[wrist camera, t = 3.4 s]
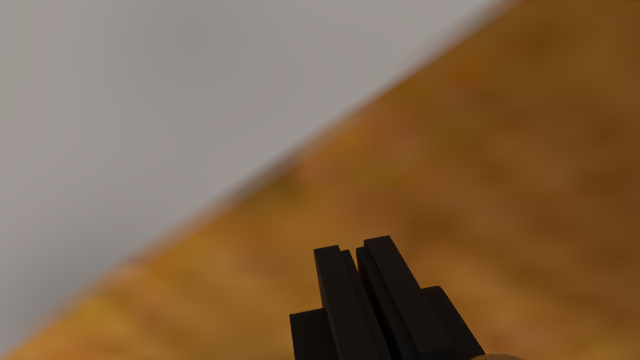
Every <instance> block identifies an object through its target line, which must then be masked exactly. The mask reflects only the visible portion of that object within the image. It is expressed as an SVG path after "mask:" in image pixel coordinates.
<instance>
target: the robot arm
mask: <svg viewBox="0 0 640 360" xmlns="http://www.w3.org/2000/svg"><path fill="white" fill-rule="evenodd" d="M356 256H357V264H358V271H359V273H358V271H357V268H356V266H355V263H354V261H353V258H352V256H351V253H350V251H349V250H343V251H340V249H339V246H338V245H334V246H329V247H324V248H318V249H314V257H315V263H316V269H317V276H318V282H319V288H320V294H321V300H322V306H323V308H321V309H316V310H311V311H305V312H300V313H295V314H290V315H289V316H290V324H291V332H292V339H293V347H294V355H295V360H524V359H522V358H519V357H516V356H511V355H506V354H485V352H484V351H483V349H482V348H481V346H480V345H479V343H478V342H477V340H476V339H475V337H474V336H473V334H472V333H471V331H470V330H469V328H468V327H467V325H466V324H465V322H464V321H463V319H462V318H461V316H460V315H459V313H458V312H457V310H456V309H455V307H454V306H453V304H452V303H451V301H450V300H449V298H448V297H447V295H446V294H445V292H444V291H443V289H442V288H441V287H440V286H433V287H428V288H423V289H421V288H420V286H419V285H418V283H417V281H416V280H415V278H414V276H413V274H412V273H411V271H410V269H409V268H408V266H407V264H406V263H405V261H404V259H403V258H402V256H401V254H400V253H399V251H398V249H397V247H396V246H395V244H394V242H393V241H392V239H391V237H390V236H389V235H388V236H382V237H377V238H372V239H366V240H364V247H359V248H356Z"/></svg>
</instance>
